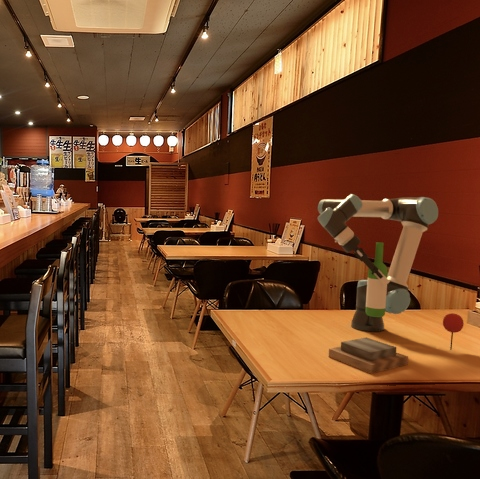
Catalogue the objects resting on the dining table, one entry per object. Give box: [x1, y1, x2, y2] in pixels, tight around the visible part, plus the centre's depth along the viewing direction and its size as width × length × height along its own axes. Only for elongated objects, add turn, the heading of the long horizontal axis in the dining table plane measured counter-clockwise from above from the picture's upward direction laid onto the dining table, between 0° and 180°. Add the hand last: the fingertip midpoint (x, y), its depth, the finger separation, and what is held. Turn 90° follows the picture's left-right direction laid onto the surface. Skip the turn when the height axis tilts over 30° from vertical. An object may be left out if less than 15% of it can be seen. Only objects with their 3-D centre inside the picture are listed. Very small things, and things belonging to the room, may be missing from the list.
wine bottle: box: [365, 241, 389, 318], centre depth 189 cm, size 8×8×30 cm
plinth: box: [328, 337, 409, 374], centre depth 171 cm, size 20×20×6 cm
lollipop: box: [442, 313, 465, 351], centre depth 190 cm, size 8×8×15 cm
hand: (385, 282), depth 189 cm, fingers closed on wine bottle, 8 cm apart
